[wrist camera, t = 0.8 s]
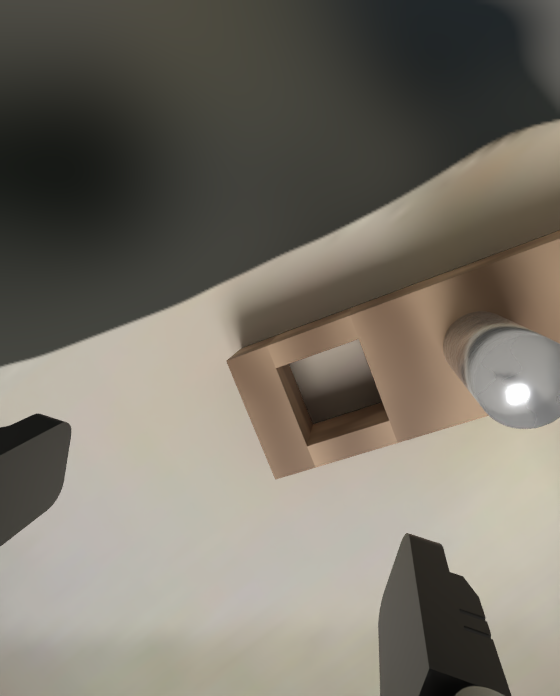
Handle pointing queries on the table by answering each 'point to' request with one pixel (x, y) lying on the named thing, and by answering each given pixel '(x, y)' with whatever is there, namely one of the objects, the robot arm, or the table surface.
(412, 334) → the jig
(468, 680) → the robot arm
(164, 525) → the table surface
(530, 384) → the brushed metal cylinder
